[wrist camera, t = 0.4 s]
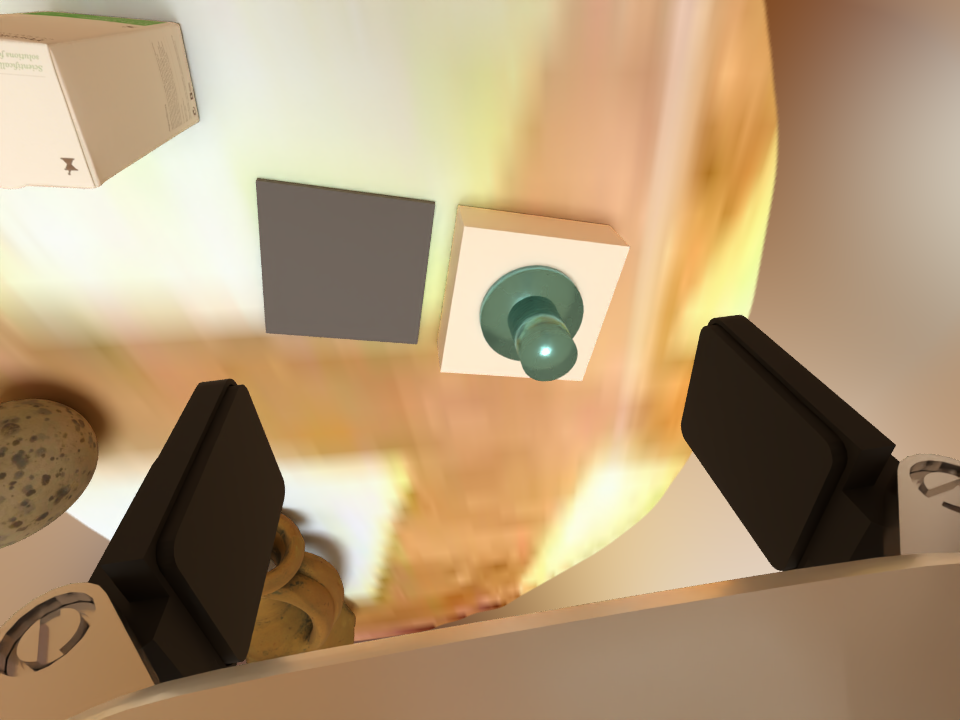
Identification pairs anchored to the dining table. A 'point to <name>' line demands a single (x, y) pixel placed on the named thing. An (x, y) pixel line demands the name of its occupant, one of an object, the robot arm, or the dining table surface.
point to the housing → (511, 245)
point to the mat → (342, 262)
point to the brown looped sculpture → (299, 602)
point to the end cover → (534, 320)
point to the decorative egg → (41, 464)
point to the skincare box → (87, 96)
